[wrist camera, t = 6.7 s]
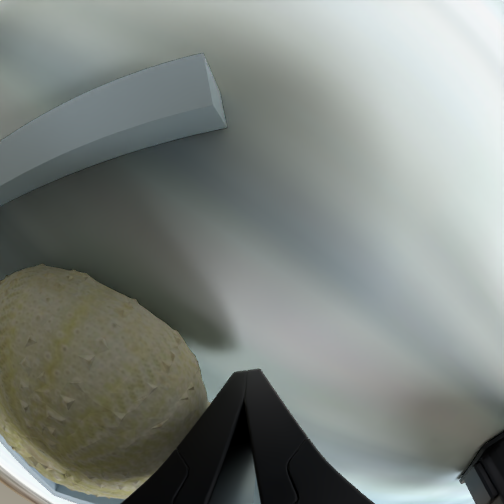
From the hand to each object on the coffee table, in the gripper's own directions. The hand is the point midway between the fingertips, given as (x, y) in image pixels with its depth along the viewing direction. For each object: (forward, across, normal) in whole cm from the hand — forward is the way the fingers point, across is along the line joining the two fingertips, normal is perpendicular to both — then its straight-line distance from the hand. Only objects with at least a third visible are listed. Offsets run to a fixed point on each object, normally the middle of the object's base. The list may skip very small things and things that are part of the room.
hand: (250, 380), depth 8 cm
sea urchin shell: (+1, +6, 0) cm, 6 cm away
